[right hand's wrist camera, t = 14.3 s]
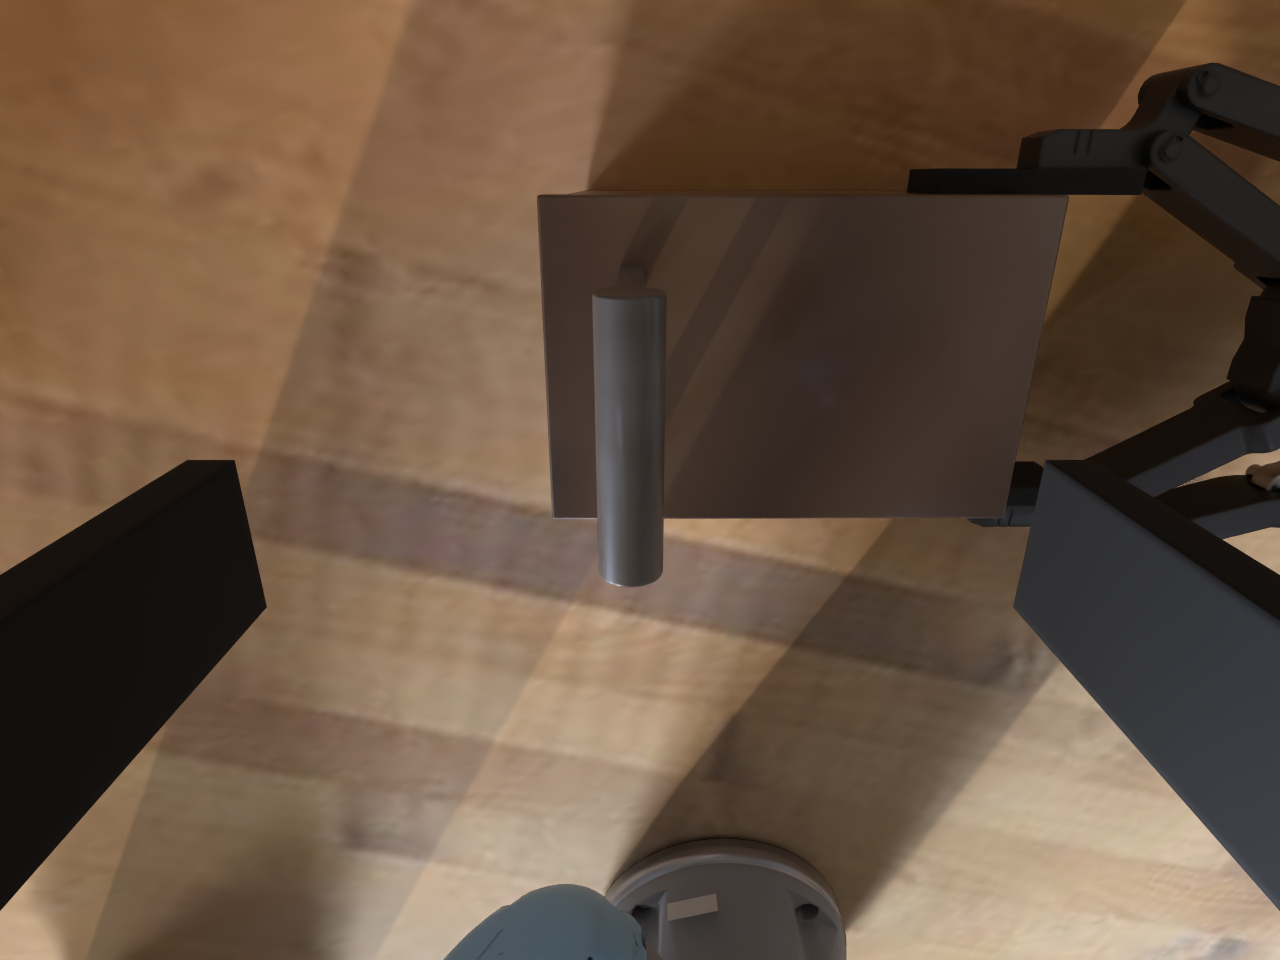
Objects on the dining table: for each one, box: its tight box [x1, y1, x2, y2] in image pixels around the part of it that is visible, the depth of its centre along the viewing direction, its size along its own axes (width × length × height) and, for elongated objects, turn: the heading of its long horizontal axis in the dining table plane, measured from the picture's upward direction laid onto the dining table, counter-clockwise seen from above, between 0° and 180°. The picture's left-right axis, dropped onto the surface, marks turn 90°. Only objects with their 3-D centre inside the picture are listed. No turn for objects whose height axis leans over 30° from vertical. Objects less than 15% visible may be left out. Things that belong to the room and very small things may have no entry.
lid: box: [537, 194, 1069, 587], centre depth 20 cm, size 15×10×9 cm
